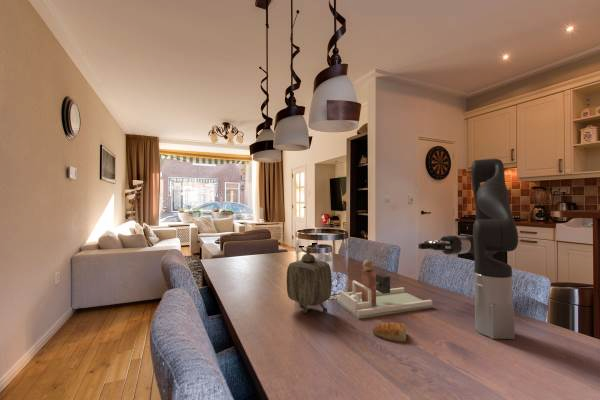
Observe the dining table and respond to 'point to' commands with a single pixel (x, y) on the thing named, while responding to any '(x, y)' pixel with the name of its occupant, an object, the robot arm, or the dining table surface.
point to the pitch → (390, 303)
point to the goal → (353, 303)
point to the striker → (373, 282)
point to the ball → (356, 298)
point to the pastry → (391, 331)
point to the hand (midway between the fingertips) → (419, 246)
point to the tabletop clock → (309, 281)
